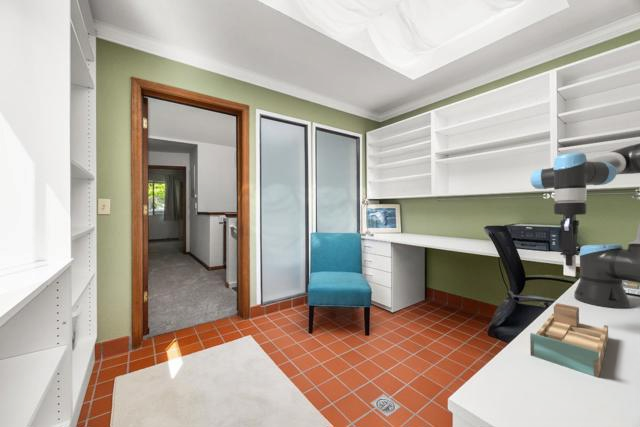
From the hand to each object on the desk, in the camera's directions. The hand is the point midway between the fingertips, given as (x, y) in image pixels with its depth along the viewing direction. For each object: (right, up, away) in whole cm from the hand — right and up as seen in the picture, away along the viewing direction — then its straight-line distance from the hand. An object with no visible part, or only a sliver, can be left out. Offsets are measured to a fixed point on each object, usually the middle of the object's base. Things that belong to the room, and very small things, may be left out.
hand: (569, 275), depth 85 cm
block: (-5, -13, -5) cm, 15 cm away
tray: (-12, -16, -14) cm, 24 cm away
